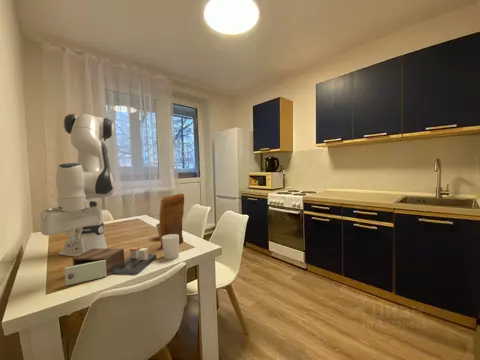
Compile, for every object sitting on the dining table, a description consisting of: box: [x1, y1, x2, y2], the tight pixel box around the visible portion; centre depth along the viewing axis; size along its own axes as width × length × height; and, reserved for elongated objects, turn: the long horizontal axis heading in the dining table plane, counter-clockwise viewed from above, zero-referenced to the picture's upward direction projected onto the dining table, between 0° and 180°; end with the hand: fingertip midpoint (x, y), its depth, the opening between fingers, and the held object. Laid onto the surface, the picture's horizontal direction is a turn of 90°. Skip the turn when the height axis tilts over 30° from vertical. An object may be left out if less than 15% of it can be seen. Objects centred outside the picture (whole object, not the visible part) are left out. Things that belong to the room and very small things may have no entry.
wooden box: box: [72, 248, 125, 276], centre depth 97 cm, size 15×11×7 cm
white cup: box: [162, 234, 180, 260], centre depth 108 cm, size 8×8×10 cm
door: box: [64, 260, 108, 286], centre depth 86 cm, size 13×2×6 cm, turn 118°
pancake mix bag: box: [158, 192, 185, 250], centre depth 125 cm, size 7×19×28 cm, turn 149°
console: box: [111, 253, 158, 275], centre depth 100 cm, size 11×16×2 cm
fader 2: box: [138, 247, 149, 260], centre depth 101 cm, size 3×3×4 cm
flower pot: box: [155, 223, 160, 240], centre depth 139 cm, size 9×9×9 cm
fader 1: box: [129, 246, 141, 259], centre depth 103 cm, size 3×3×4 cm
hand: (74, 240), depth 88 cm, fingers closed
